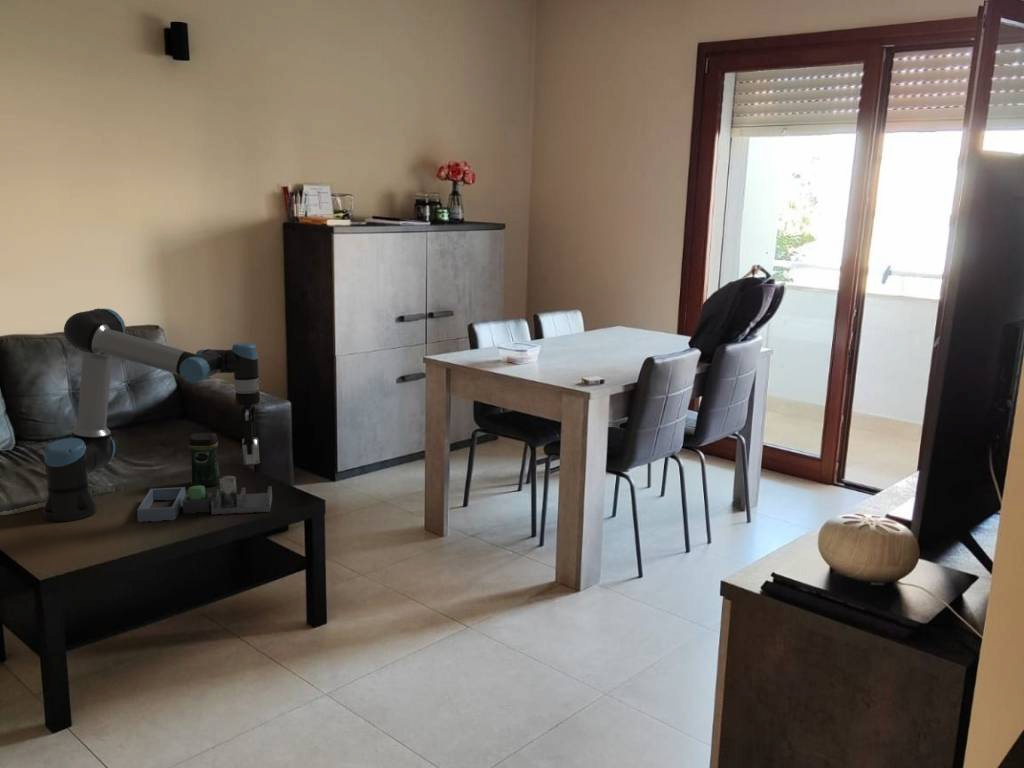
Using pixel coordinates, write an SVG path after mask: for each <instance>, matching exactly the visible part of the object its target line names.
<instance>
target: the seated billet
mask: <svg viewBox="0 0 1024 768" xmlns="http://www.w3.org/2000/svg"><path fill="white" fill-rule="evenodd" d="M219 495H221V503H223V504H231V503H235V502H237V495H238V494H237V477H236V476H235V475H224V476H220V482H219Z"/></svg>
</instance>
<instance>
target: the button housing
mask: <svg viewBox="0 0 1024 768" xmlns="http://www.w3.org/2000/svg"><path fill="white" fill-rule="evenodd" d="M205 497H206V500H189V493H186V496H185V498H184V500H183V505H182V514H183V513H186V514H194V513H193V512H204V513H210V512H211V499H212V497H213V493H212V492H205Z"/></svg>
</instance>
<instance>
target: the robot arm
mask: <svg viewBox="0 0 1024 768" xmlns="http://www.w3.org/2000/svg"><path fill="white" fill-rule="evenodd" d="M63 335H64V338H65V339H66V341H67V342H68V343H69V345H70V346H72V347H73V348H76V350H78V351H79V352H80V353H81V355H82V357H81V358H82V359H81V371H80V373H81V374H80V385H79V398H78V399H79V401H78V411H77V412H78V413H77V425H76V426H74V427H73V428H72V430H71V436H70V437H68V438H63V439H60V440H55V441H52V442H51V443H49V444H48V445H47V446H46V447H45V449H44V456H43V461H44V466H45V476H46V486H47V496H46V499H45V504H44V506H43V511H42V512H43V518H44V519H45V520H47V521H49V522H50V521H51V522H72V521H77V520H81V519H85V518H88V517H90V516H92V515H94V514H96V513H97V503H96V501H95V498H94V497H93V494H92V492H91V490H90V488H89V477H88V475H89V474H90V473H92V472H95V471H96V470H99V469H101V468H103V467H105V466H106V465H108V463H110V462H111V461H112V459H113V458H114V456H115V453H116V444H115V441H114V439H113V438H112V436H111V433H112V431H111V430H110V428H108V427H107V422H108V421H107V419H108V406H109V393H110V384H111V370H112V369H111V368H112V358H113V357H116V358H118V359H119V358H120V359H123V360H126V361H130V362H134V363H137V364H140V365H143V366H147V367H150V368H155V369H157V370H158V369H159V370H161V371H164V372H168V373H172V374H175V375H178V376H180V377H182V378H183V379H184V380H185V381H186V382H189V383H197V382H202V381H203V380H205V379H207V378H209V377H212V376H214V375H216V374H233V376H234V377H233V380H234V381H233V382H234V383H233V384H234V391H235V394H234V395H235V396H234V397H235V403H236V404H237V405H239V406H243V408H242V409H241V416H242V423H243V426H242V427H243V439H244V443H243V445H245V453H246V464H255V454H254V444H253V443H254V442H253V437H255V438H258V436H257V435H256V423H255V420H256V414H255V413H256V407H255V406H254V405H257V404H259V403H261V402H260V401H261V397H260V391H259V390H260V384H261V383H262V381H261V380H259V356H258V349H257V345H256V344H255V343H252V342H238V343H234V344H232V349H211V348H207V349H199V350H197V351H196V353H194V352H189V351H186V350H184V349H180V348H176V347H173V346H170V345H169V346H168V345H165V344H162V343H159V342H156V341H155V342H154V341H152V340H148V339H145V338H141V337H139V336H135V335H131V334H127V333H126V323H125V320H124V319H123V318H122V316H121V315H120V314H119V313H118V312H117V311H114V310H113V309H110V308H94V309H91V310H86V311H80V312H77V313H73V314H72V315H70V317H69V318H67V320H66V322H65V324H64V326H63ZM255 465H256V464H255Z"/></svg>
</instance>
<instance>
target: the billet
mask: <svg viewBox="0 0 1024 768" xmlns="http://www.w3.org/2000/svg"><path fill="white" fill-rule="evenodd" d="M241 441H242V442H241V444H242V457H243V458H242V459H243V465H245V466H254V465H255V466H256V465H259V464H260V463H261V461H260V448H259V447H260V446H259V438H258V437H257V438H255V437H253V442H254V443H253V444H254V454H255V464H246V453H245V445H243V443H244V438H242V440H241Z"/></svg>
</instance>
